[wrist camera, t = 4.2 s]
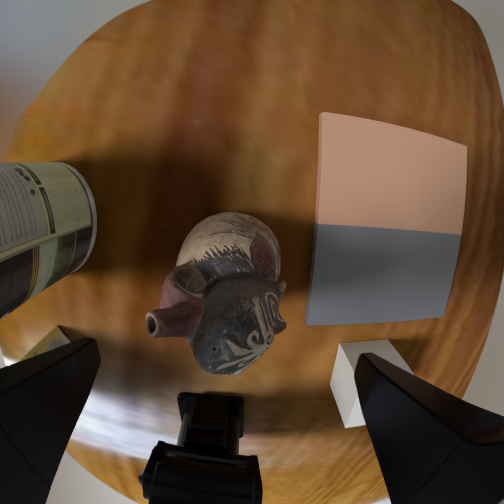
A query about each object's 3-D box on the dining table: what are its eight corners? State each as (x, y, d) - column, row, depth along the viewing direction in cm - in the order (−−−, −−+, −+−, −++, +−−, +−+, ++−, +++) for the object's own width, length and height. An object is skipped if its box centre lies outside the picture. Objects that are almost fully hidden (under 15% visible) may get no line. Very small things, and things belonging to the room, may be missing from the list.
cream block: (374, 379, 24) (396, 418, 19) (329, 384, 24) (345, 428, 18) (387, 339, 23) (416, 376, 17) (339, 342, 23) (360, 385, 17)
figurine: (249, 316, 22) (249, 436, 10) (169, 274, 21) (100, 368, 9) (297, 241, 21) (354, 317, 9) (212, 192, 20) (162, 212, 8)
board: (437, 312, 22) (443, 316, 21) (304, 319, 22) (307, 325, 21) (460, 146, 18) (466, 146, 17) (319, 114, 18) (322, 111, 17)
